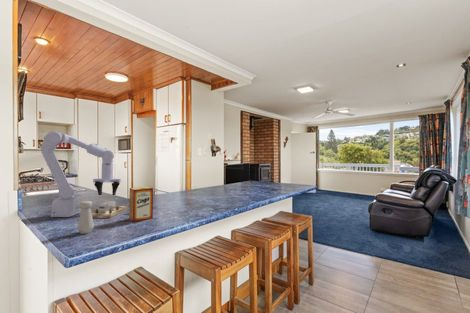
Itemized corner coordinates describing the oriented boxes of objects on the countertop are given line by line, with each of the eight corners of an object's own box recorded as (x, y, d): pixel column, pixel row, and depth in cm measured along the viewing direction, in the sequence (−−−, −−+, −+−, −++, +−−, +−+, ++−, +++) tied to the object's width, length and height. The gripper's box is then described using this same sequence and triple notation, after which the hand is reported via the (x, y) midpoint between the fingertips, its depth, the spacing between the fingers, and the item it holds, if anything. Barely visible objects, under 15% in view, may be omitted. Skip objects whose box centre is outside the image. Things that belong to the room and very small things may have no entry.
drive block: (97, 214, 117) (97, 204, 117) (108, 209, 126) (108, 200, 126) (105, 214, 117) (105, 204, 117) (115, 209, 126) (115, 201, 126)
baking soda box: (133, 221, 109) (133, 189, 108) (129, 218, 113) (129, 187, 113) (152, 218, 115) (153, 187, 115) (148, 215, 120) (148, 185, 120)
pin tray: (85, 217, 114) (85, 211, 114) (105, 209, 131) (105, 204, 131) (110, 218, 114) (110, 212, 114) (127, 209, 131) (127, 204, 131)
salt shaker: (82, 230, 96) (83, 199, 96) (96, 229, 96) (97, 199, 96) (74, 234, 90) (74, 202, 90) (89, 234, 91) (89, 202, 90)
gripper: (90, 171, 123) (89, 196, 124) (117, 172, 125) (117, 196, 125) (97, 170, 130) (96, 193, 131) (122, 171, 132) (122, 194, 132)
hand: (107, 194), depth 128 cm, fingers open, 7 cm apart
